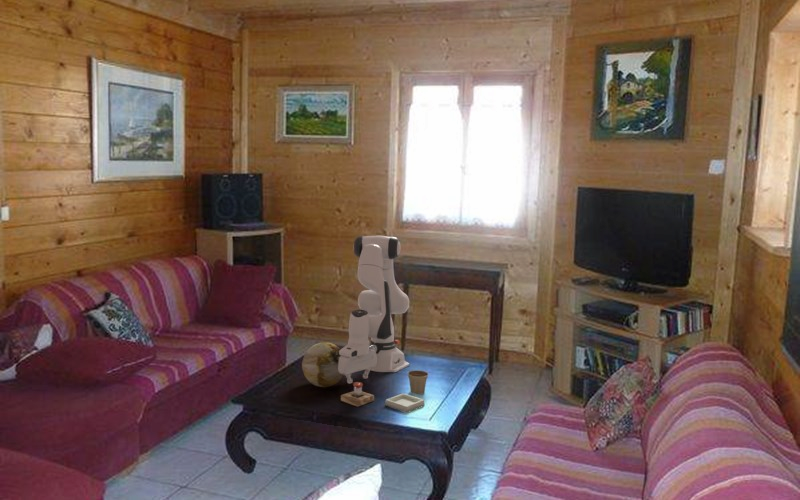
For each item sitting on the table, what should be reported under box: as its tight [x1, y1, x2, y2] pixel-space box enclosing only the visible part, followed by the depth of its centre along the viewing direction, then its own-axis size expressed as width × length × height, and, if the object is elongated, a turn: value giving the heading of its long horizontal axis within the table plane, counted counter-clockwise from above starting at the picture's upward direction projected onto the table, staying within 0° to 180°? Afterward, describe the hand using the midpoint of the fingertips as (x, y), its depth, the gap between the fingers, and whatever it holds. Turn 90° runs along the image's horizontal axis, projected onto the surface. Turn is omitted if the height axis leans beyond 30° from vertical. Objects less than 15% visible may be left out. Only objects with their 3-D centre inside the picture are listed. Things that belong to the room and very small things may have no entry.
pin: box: [352, 381, 364, 398], centre depth 288 cm, size 4×4×8 cm
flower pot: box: [407, 369, 429, 395], centre depth 302 cm, size 9×9×9 cm
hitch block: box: [340, 390, 375, 407], centre depth 289 cm, size 10×10×2 cm
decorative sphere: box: [301, 341, 344, 388], centre depth 305 cm, size 20×20×20 cm
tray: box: [384, 393, 425, 413], centre depth 285 cm, size 12×12×2 cm
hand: (357, 380), depth 287 cm, fingers open, 8 cm apart
